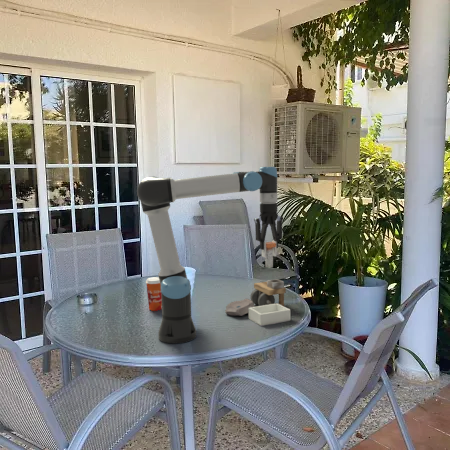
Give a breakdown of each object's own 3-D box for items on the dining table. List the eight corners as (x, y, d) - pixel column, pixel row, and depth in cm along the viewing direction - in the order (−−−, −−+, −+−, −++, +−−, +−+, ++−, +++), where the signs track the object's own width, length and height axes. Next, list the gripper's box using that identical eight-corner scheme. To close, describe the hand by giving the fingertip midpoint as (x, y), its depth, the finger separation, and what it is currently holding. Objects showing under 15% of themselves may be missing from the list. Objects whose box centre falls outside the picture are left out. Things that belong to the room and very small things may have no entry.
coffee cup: (147, 312, 210) (145, 281, 208) (146, 307, 218) (145, 277, 216) (164, 310, 211) (163, 280, 210) (163, 306, 219) (162, 276, 218)
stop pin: (267, 268, 190) (267, 244, 189) (262, 266, 194) (262, 242, 193) (276, 267, 192) (276, 243, 191) (271, 265, 196) (270, 241, 195)
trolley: (263, 312, 206) (263, 284, 204) (248, 304, 219) (248, 278, 218) (285, 309, 210) (285, 281, 209) (269, 301, 224) (269, 275, 223)
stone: (236, 319, 197) (236, 306, 197) (223, 314, 205) (223, 302, 204) (258, 314, 205) (258, 301, 204) (245, 309, 213) (245, 297, 212)
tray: (260, 326, 188) (260, 314, 187) (248, 318, 198) (248, 307, 197) (290, 320, 194) (290, 309, 193) (277, 313, 204) (277, 303, 203)
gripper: (254, 204, 183) (255, 259, 186) (290, 202, 190) (290, 255, 193) (246, 203, 190) (247, 256, 193) (281, 201, 197) (281, 253, 200)
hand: (269, 256), depth 193 cm, fingers closed on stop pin, 4 cm apart
